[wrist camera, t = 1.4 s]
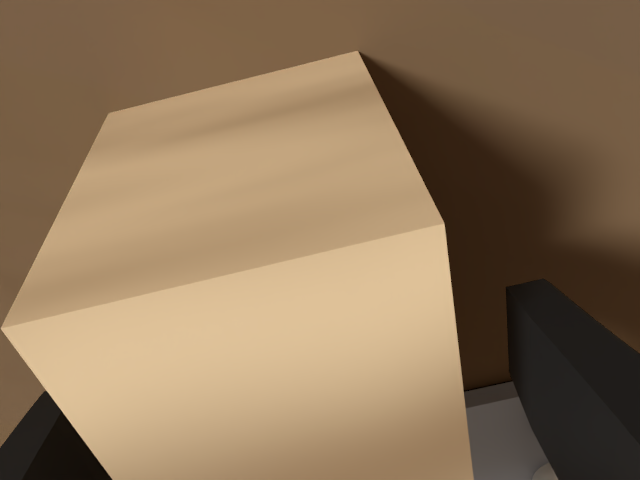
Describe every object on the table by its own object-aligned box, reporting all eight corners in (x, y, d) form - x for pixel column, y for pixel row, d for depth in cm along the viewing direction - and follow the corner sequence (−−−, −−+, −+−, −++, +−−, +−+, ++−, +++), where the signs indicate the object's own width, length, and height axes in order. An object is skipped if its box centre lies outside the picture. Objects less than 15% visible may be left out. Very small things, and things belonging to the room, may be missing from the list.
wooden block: (416, 377, 15) (488, 612, 10) (248, 415, 15) (248, 662, 11) (356, 49, 10) (445, 224, 6) (109, 110, 10) (1, 328, 6)
